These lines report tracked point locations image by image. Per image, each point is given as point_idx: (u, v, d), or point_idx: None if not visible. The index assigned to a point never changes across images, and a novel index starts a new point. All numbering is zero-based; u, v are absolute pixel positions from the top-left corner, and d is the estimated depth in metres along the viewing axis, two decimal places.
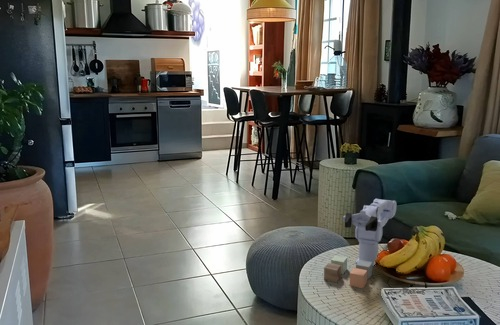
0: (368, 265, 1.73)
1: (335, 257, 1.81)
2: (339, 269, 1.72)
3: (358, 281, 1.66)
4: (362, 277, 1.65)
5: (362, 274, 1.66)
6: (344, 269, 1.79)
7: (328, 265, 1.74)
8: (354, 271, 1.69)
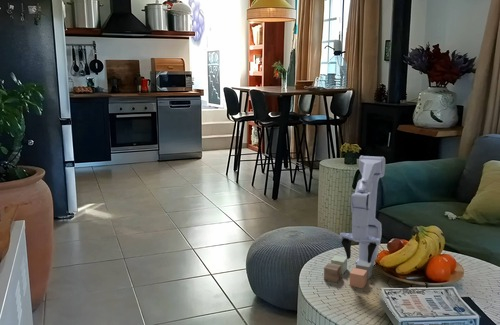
0: (368, 265, 1.73)
1: (335, 257, 1.81)
2: (339, 269, 1.72)
3: (358, 281, 1.66)
4: (362, 277, 1.65)
5: (362, 274, 1.66)
6: (344, 269, 1.79)
7: (328, 265, 1.74)
8: (354, 271, 1.69)
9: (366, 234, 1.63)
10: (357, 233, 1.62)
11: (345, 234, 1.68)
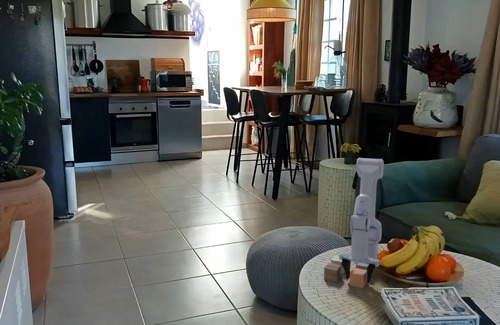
0: None
1: (335, 257, 1.81)
2: (339, 269, 1.72)
3: (358, 281, 1.66)
4: (362, 277, 1.65)
5: (362, 274, 1.66)
6: None
7: (328, 265, 1.74)
8: (354, 271, 1.69)
9: (365, 255, 1.65)
10: (357, 254, 1.64)
11: (345, 255, 1.69)
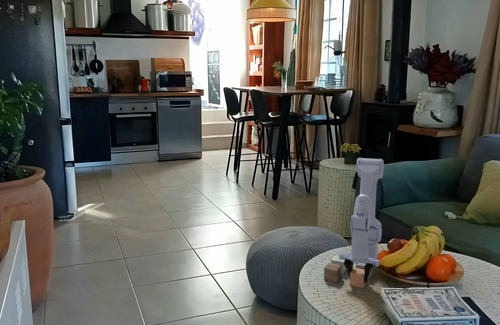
0: None
1: (335, 257, 1.81)
2: (339, 269, 1.72)
3: (358, 281, 1.66)
4: (362, 277, 1.65)
5: (362, 274, 1.66)
6: (344, 269, 1.79)
7: (328, 265, 1.74)
8: (354, 270, 1.69)
9: (365, 255, 1.65)
10: (357, 254, 1.64)
11: (345, 255, 1.69)
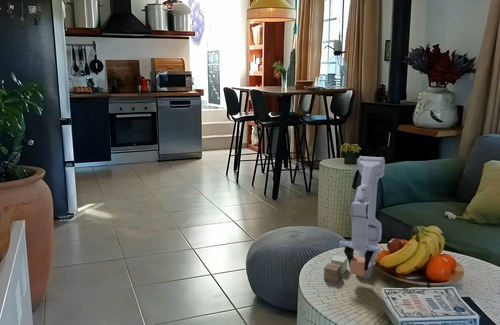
0: None
1: (335, 257, 1.81)
2: (339, 269, 1.72)
3: (358, 269, 1.65)
4: (362, 265, 1.64)
5: (362, 262, 1.65)
6: (344, 269, 1.79)
7: (328, 265, 1.74)
8: (354, 258, 1.68)
9: (366, 242, 1.64)
10: (357, 241, 1.63)
11: (345, 242, 1.68)
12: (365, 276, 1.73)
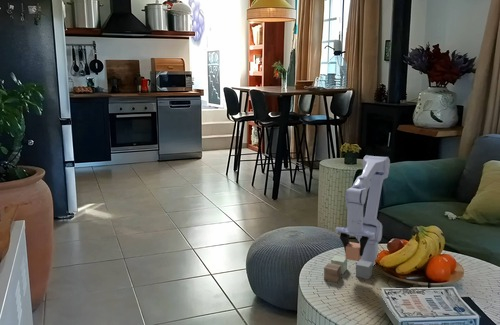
0: (368, 265, 1.73)
1: (335, 257, 1.81)
2: (339, 269, 1.72)
3: (354, 254, 1.69)
4: (358, 250, 1.68)
5: (358, 247, 1.69)
6: (344, 269, 1.79)
7: (328, 265, 1.74)
8: (350, 244, 1.72)
9: (361, 228, 1.68)
10: (352, 227, 1.67)
11: (341, 228, 1.72)
12: (365, 276, 1.73)
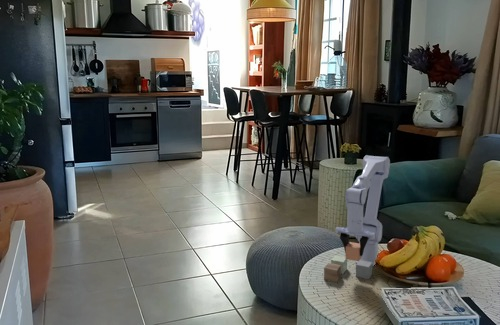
0: (368, 265, 1.73)
1: (335, 257, 1.81)
2: (339, 269, 1.72)
3: (354, 254, 1.69)
4: (358, 250, 1.68)
5: (358, 247, 1.69)
6: (344, 269, 1.79)
7: (328, 265, 1.74)
8: (350, 244, 1.72)
9: (361, 228, 1.68)
10: (352, 227, 1.67)
11: (341, 228, 1.72)
12: (365, 276, 1.73)
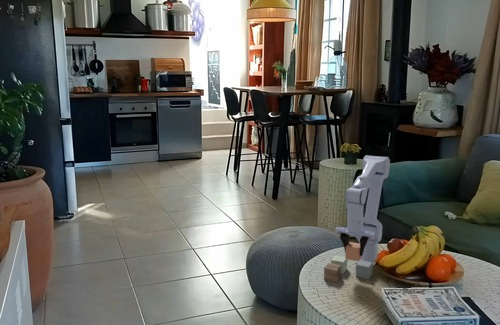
0: (368, 265, 1.73)
1: (335, 257, 1.81)
2: (339, 269, 1.72)
3: (354, 254, 1.69)
4: (358, 250, 1.68)
5: (358, 247, 1.69)
6: (344, 269, 1.79)
7: (328, 265, 1.74)
8: (350, 244, 1.72)
9: (361, 228, 1.68)
10: (352, 227, 1.67)
11: (341, 228, 1.72)
12: (365, 276, 1.73)
